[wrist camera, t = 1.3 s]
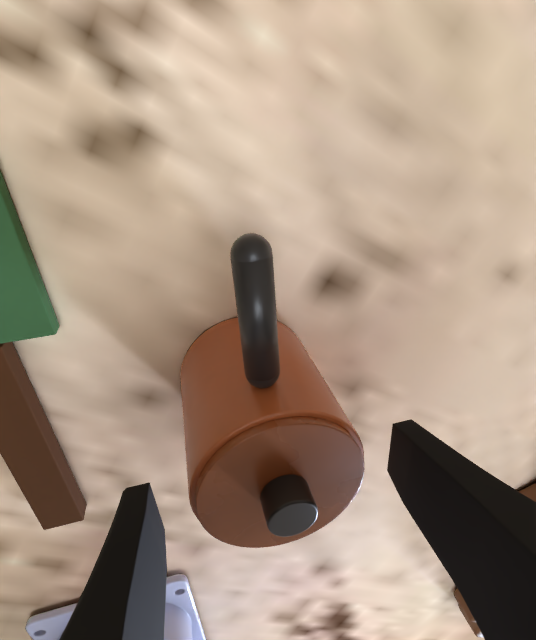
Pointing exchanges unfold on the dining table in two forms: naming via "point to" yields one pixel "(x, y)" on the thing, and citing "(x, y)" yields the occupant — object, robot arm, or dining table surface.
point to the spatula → (15, 387)
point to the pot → (263, 422)
